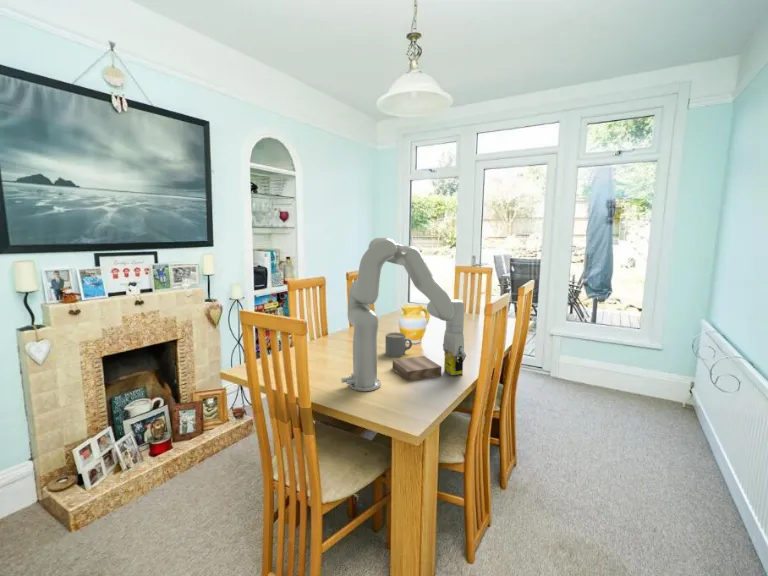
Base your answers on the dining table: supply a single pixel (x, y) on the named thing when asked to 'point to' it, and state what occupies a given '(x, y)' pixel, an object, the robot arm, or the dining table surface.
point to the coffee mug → (396, 344)
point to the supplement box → (451, 365)
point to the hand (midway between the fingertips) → (453, 367)
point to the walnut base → (416, 368)
